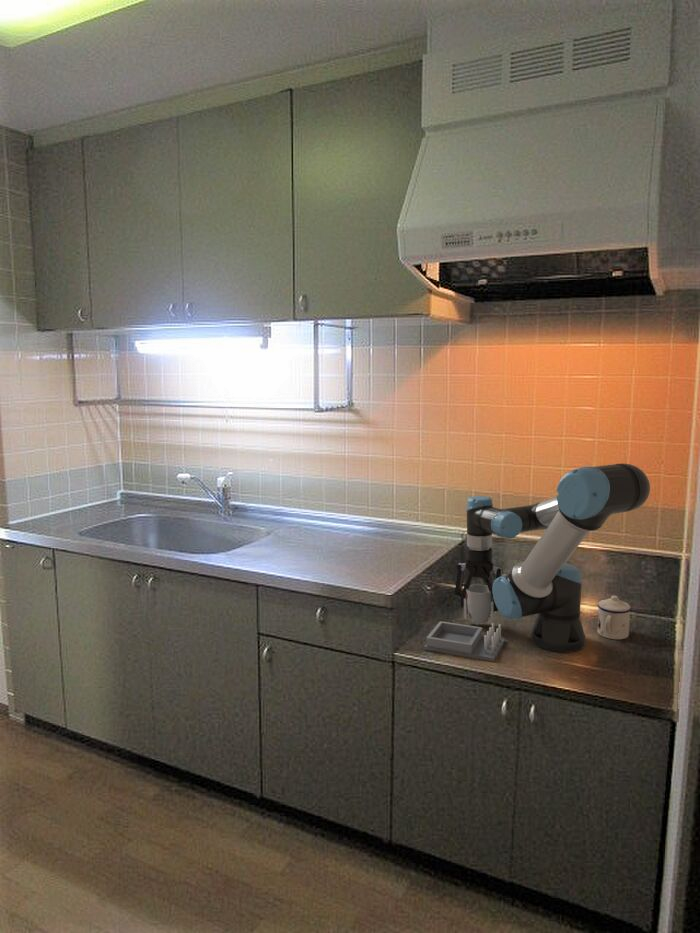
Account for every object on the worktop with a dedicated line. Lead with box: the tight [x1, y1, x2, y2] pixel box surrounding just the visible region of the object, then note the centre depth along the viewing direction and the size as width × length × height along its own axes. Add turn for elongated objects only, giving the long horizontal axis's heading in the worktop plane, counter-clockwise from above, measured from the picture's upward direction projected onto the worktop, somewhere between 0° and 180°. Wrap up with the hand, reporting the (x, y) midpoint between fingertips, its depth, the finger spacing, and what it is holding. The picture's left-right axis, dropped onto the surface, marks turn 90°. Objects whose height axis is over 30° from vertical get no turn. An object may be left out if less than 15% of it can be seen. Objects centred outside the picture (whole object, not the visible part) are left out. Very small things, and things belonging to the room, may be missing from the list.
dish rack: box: [423, 621, 506, 662], centre depth 189 cm, size 20×14×6 cm
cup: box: [466, 584, 492, 624], centre depth 202 cm, size 8×8×10 cm
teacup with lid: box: [597, 595, 632, 640], centre depth 193 cm, size 12×9×12 cm
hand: (479, 619), depth 203 cm, fingers closed on cup, 8 cm apart
